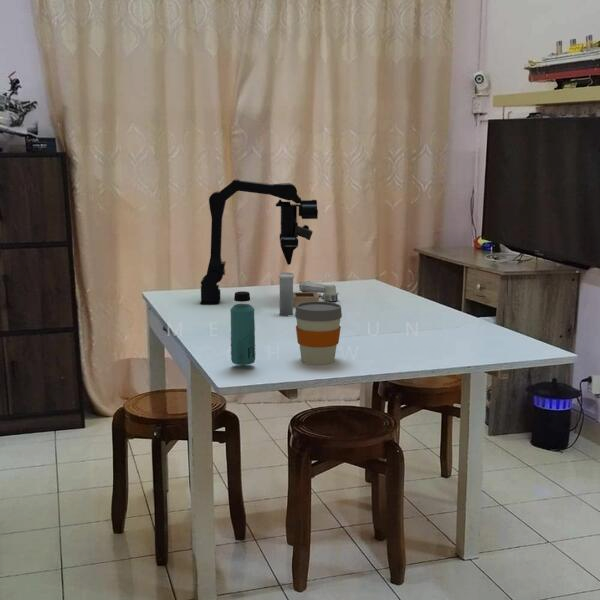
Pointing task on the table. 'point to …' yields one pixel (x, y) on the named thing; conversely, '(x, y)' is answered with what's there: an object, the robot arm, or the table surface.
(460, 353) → the table surface
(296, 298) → the socket flange
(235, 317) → the beverage bottle
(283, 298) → the tube
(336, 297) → the white elongated device
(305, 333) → the reusable coffee cup
